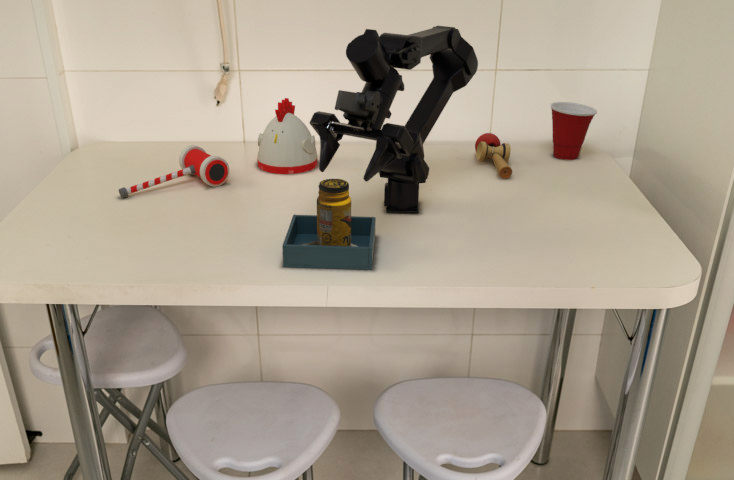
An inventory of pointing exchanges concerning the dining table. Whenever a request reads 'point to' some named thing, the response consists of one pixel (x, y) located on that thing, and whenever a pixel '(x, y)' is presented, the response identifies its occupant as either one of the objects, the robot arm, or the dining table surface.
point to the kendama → (494, 153)
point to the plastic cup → (570, 128)
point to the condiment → (333, 214)
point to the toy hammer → (190, 170)
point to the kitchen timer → (286, 143)
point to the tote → (328, 256)
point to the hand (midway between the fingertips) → (342, 175)
